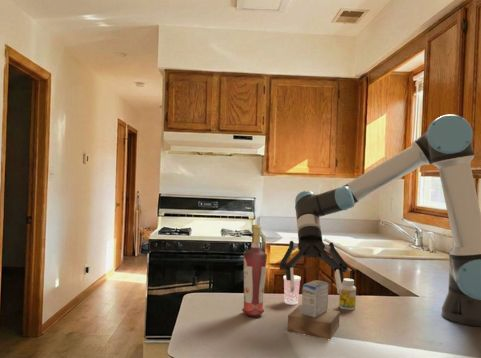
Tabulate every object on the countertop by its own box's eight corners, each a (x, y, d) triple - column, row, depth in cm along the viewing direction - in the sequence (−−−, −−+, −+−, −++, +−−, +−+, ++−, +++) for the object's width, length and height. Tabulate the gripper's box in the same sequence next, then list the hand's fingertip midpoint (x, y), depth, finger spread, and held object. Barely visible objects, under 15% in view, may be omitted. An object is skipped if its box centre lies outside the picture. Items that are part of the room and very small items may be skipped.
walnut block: (339, 328, 120) (339, 311, 120) (330, 341, 109) (330, 323, 109) (299, 320, 125) (300, 304, 125) (287, 333, 114) (288, 315, 114)
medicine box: (314, 308, 122) (315, 279, 122) (327, 311, 119) (329, 282, 119) (301, 314, 115) (302, 284, 115) (315, 318, 113) (316, 287, 113)
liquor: (266, 318, 124) (270, 226, 125) (243, 318, 123) (247, 226, 123) (261, 310, 131) (265, 224, 132) (239, 311, 130) (243, 223, 131)
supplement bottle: (358, 309, 137) (359, 280, 137) (346, 310, 135) (347, 282, 135) (348, 304, 142) (349, 277, 142) (335, 306, 140) (336, 278, 140)
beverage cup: (299, 305, 138) (300, 264, 139) (281, 304, 140) (283, 263, 140) (300, 300, 144) (301, 261, 145) (283, 299, 146) (284, 260, 146)
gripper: (345, 240, 134) (356, 299, 119) (269, 237, 134) (271, 295, 119) (350, 226, 129) (362, 285, 114) (271, 222, 129) (273, 281, 114)
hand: (316, 290), depth 116 cm, fingers open, 13 cm apart
